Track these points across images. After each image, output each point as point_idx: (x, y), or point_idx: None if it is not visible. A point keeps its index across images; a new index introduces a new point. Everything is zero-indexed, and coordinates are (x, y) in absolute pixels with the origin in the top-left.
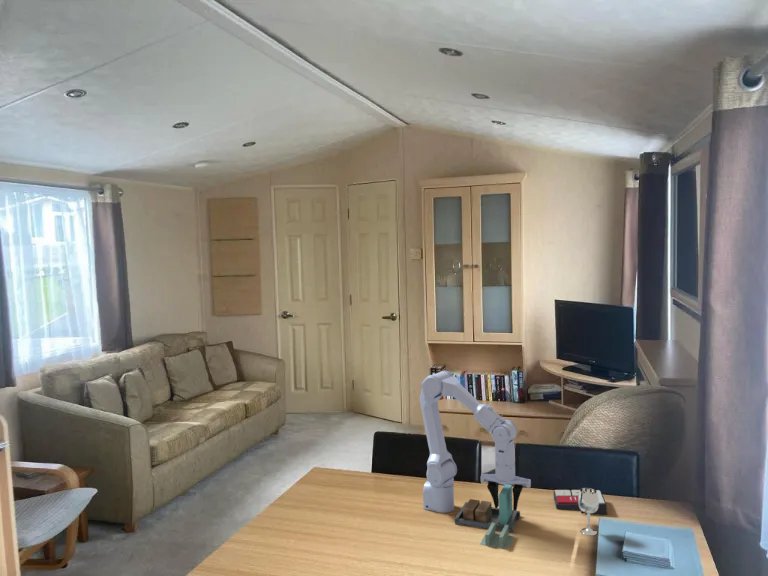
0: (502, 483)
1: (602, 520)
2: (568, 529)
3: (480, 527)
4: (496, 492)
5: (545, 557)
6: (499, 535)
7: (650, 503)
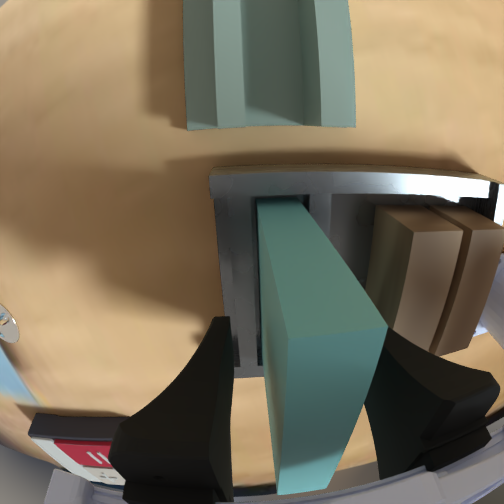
0: (391, 501)
1: (22, 389)
2: (43, 323)
3: (395, 169)
4: (391, 394)
5: (33, 47)
6: (275, 105)
7: (24, 447)
